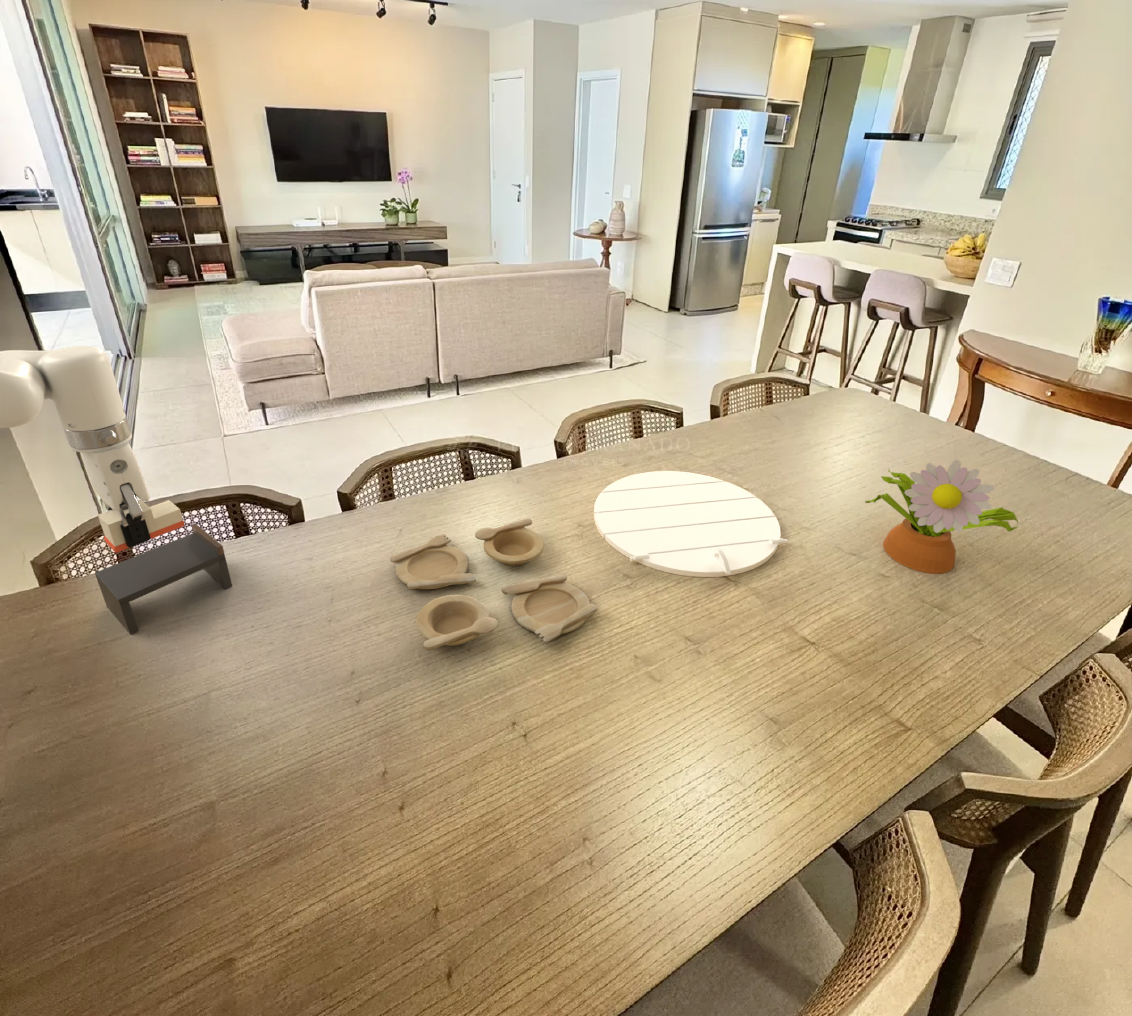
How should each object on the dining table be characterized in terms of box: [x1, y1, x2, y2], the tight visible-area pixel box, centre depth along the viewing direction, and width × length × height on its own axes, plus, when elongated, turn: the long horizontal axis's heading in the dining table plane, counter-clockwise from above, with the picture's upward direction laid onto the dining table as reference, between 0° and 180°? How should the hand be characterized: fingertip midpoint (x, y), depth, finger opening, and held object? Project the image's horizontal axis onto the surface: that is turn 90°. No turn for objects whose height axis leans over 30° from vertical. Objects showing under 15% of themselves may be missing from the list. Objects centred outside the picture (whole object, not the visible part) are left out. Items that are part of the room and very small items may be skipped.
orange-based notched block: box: [97, 499, 185, 554], centre depth 100 cm, size 10×4×5 cm, turn 141°
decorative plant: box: [864, 459, 1020, 575], centre depth 123 cm, size 27×24×25 cm
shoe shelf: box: [94, 523, 233, 636], centre depth 106 cm, size 16×10×9 cm, turn 141°
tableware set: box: [389, 518, 598, 651], centre depth 112 cm, size 35×29×4 cm
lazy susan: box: [593, 470, 789, 578], centre depth 135 cm, size 40×39×3 cm
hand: (132, 535), depth 100 cm, fingers closed on orange-based notched block, 4 cm apart
